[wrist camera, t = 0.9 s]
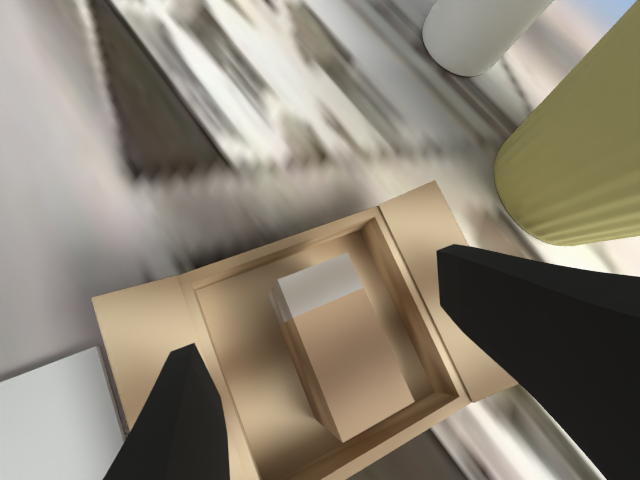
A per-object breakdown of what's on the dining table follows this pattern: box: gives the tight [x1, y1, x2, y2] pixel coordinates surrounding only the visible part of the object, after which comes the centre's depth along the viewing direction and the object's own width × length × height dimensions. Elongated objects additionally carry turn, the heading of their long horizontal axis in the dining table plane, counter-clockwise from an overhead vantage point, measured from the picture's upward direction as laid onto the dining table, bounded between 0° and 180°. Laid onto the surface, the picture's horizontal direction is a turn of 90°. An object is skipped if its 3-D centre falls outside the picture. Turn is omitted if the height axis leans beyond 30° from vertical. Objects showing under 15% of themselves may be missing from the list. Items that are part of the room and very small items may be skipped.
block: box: [267, 253, 415, 443], centre depth 20 cm, size 8×4×6 cm, turn 23°
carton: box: [91, 180, 519, 480], centre depth 21 cm, size 13×21×5 cm, turn 113°
